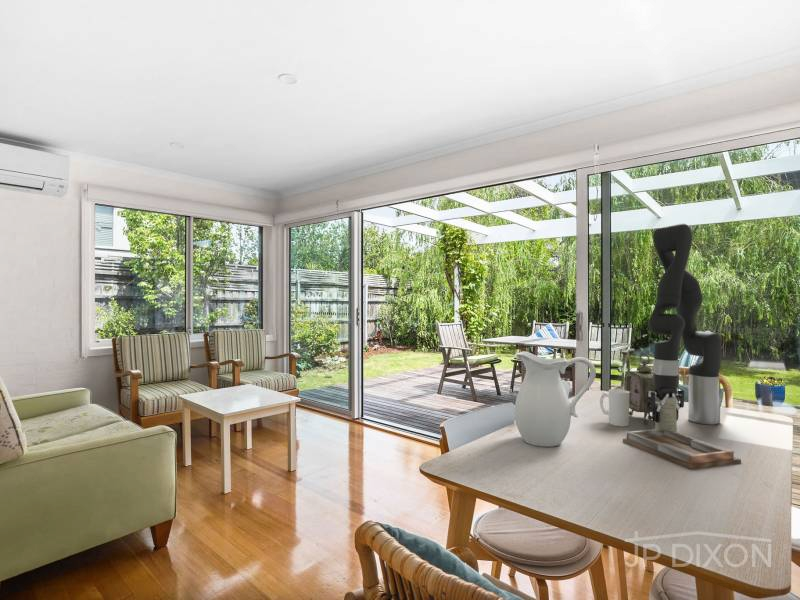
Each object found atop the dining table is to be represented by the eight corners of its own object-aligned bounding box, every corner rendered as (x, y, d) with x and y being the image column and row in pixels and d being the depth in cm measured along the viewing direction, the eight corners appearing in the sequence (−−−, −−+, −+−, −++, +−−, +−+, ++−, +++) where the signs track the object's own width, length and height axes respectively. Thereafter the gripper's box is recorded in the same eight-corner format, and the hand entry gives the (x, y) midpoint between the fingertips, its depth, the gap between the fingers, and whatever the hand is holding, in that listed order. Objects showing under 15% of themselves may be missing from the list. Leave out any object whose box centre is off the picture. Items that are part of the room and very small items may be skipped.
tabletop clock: (623, 414, 177) (624, 350, 177) (647, 414, 177) (648, 350, 177) (641, 424, 163) (642, 355, 163) (667, 425, 163) (668, 355, 162)
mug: (631, 424, 164) (632, 391, 163) (625, 428, 159) (626, 393, 159) (603, 418, 170) (603, 387, 170) (596, 422, 166) (596, 389, 166)
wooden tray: (667, 436, 149) (667, 427, 149) (741, 462, 126) (741, 452, 126) (622, 441, 144) (622, 432, 144) (691, 469, 121) (691, 458, 121)
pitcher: (509, 445, 139) (510, 355, 139) (519, 430, 155) (520, 349, 154) (593, 457, 129) (594, 360, 129) (596, 440, 144) (597, 353, 144)
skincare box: (675, 432, 154) (675, 396, 154) (677, 435, 150) (677, 398, 150) (653, 429, 157) (654, 394, 157) (654, 433, 153) (655, 396, 153)
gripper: (672, 370, 159) (672, 416, 159) (640, 371, 155) (639, 419, 155) (692, 373, 152) (691, 422, 152) (658, 375, 148) (657, 425, 148)
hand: (665, 421), depth 154 cm, fingers closed on skincare box, 7 cm apart
